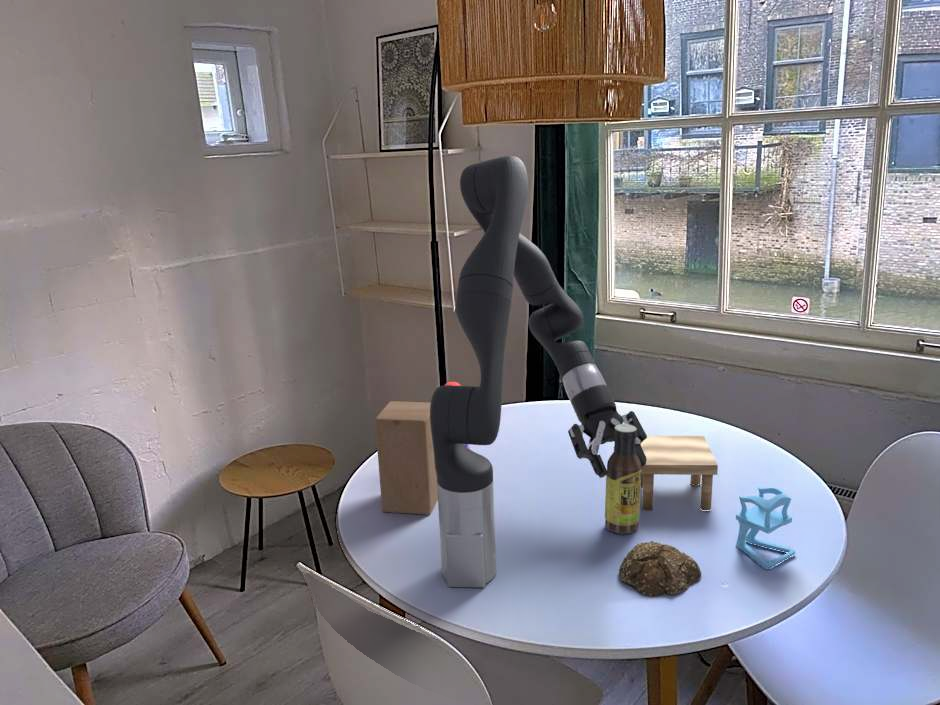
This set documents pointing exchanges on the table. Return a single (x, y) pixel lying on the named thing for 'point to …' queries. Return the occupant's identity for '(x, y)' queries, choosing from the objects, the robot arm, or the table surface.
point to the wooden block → (406, 458)
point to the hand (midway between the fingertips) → (623, 470)
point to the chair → (763, 523)
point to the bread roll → (658, 569)
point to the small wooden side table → (678, 464)
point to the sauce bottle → (623, 482)
